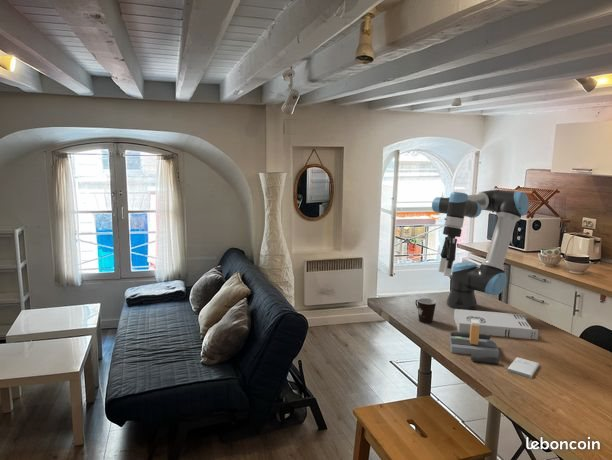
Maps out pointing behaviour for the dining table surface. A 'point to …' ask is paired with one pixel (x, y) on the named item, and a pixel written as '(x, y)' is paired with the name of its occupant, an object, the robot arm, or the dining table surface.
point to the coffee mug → (426, 309)
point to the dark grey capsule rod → (484, 359)
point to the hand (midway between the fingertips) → (444, 274)
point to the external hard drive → (523, 367)
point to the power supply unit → (495, 323)
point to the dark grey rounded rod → (467, 335)
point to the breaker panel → (473, 347)
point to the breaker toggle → (474, 332)
